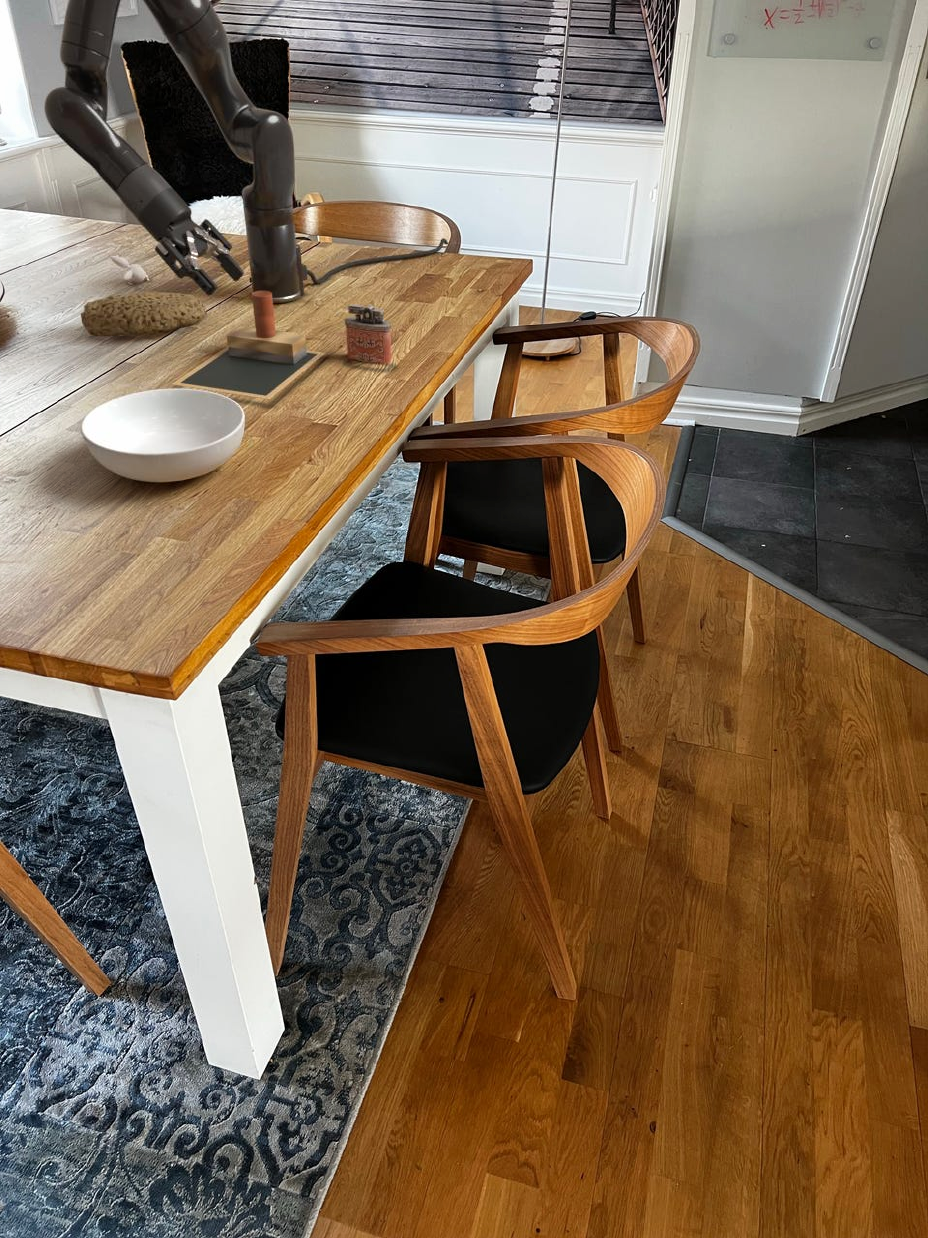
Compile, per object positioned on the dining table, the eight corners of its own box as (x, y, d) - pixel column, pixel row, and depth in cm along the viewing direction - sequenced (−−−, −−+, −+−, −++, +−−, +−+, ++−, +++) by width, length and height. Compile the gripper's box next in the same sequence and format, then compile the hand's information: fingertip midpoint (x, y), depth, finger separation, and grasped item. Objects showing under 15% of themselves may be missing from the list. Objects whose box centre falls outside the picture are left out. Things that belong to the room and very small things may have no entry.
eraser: (229, 355, 159) (221, 293, 153) (243, 345, 163) (236, 284, 157) (294, 364, 157) (288, 302, 151) (307, 354, 160) (302, 293, 154)
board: (236, 346, 166) (236, 340, 165) (326, 359, 162) (325, 352, 161) (172, 391, 150) (170, 383, 149) (269, 406, 146) (268, 398, 145)
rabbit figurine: (158, 282, 195) (127, 272, 188) (147, 295, 197) (116, 286, 190) (145, 260, 196) (114, 250, 189) (134, 274, 198) (103, 264, 191)
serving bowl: (170, 518, 118) (161, 468, 114) (58, 474, 127) (45, 426, 123) (281, 455, 132) (276, 409, 128) (173, 420, 141) (166, 375, 137)
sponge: (87, 351, 166) (195, 329, 164) (71, 305, 163) (181, 282, 161) (114, 339, 178) (215, 318, 176) (100, 295, 175) (203, 275, 173)
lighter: (395, 365, 161) (394, 305, 155) (387, 372, 158) (386, 312, 152) (351, 358, 163) (348, 299, 157) (343, 365, 160) (340, 306, 154)
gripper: (140, 196, 143) (217, 281, 147) (190, 178, 154) (261, 258, 158) (116, 229, 147) (192, 312, 151) (166, 209, 158) (236, 287, 162)
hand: (227, 284), depth 155 cm, fingers open, 8 cm apart
